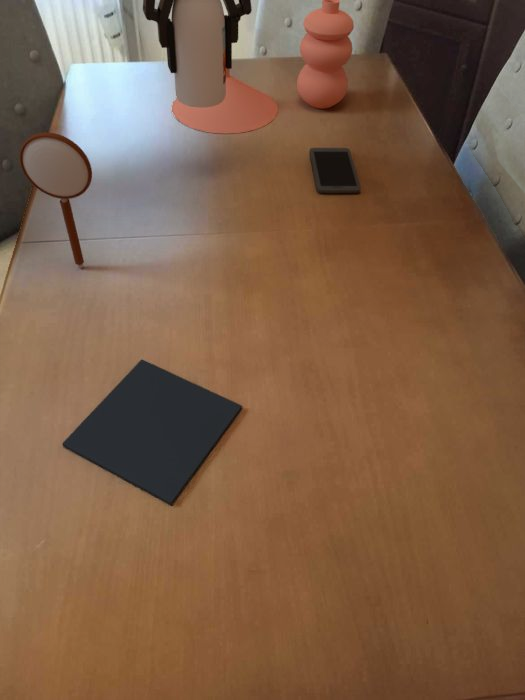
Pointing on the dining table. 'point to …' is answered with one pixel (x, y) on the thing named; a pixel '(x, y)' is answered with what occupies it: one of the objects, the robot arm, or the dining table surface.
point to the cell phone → (334, 170)
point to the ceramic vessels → (313, 81)
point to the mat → (154, 430)
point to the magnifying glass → (58, 175)
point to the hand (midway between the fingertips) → (199, 67)
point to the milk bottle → (199, 52)
